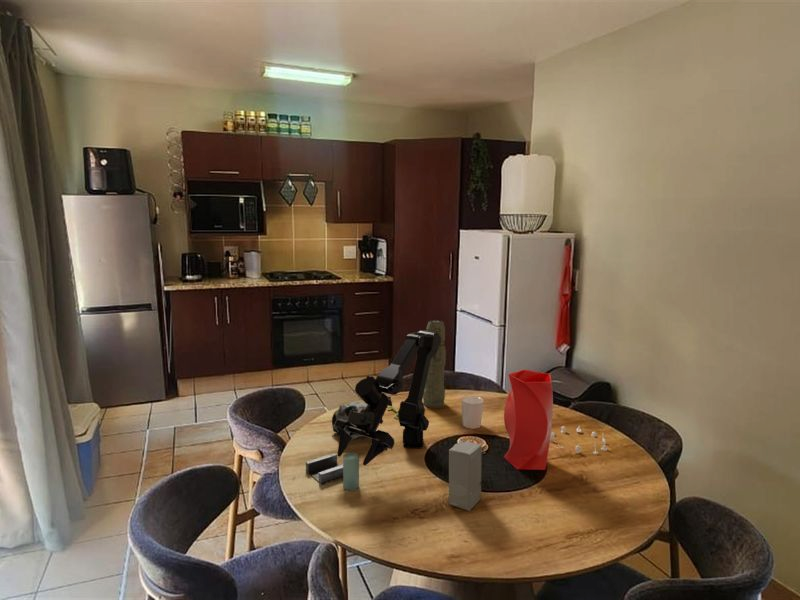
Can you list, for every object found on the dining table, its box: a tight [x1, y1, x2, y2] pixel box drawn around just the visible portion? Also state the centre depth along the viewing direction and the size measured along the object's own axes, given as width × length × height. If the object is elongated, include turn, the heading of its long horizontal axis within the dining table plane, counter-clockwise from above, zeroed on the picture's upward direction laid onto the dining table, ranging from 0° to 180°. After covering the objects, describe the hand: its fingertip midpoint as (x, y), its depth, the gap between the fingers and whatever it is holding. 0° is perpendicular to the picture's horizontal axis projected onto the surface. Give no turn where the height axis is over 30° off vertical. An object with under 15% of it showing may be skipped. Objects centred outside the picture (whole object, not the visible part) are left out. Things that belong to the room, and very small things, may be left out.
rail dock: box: [305, 452, 343, 485], centre depth 154 cm, size 10×10×3 cm
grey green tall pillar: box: [422, 319, 447, 409], centre depth 209 cm, size 9×12×35 cm
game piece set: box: [550, 425, 609, 455], centre depth 178 cm, size 19×20×4 cm
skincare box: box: [448, 439, 483, 512], centre depth 139 cm, size 8×7×16 cm
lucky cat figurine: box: [331, 401, 367, 441], centre depth 180 cm, size 17×14×16 cm
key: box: [387, 404, 399, 421], centre depth 200 cm, size 7×12×2 cm, turn 48°
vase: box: [503, 369, 554, 471], centre depth 161 cm, size 15×14×28 cm
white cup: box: [461, 395, 484, 430], centre depth 190 cm, size 8×8×10 cm
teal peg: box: [342, 452, 360, 491], centre depth 146 cm, size 4×4×9 cm
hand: (351, 460), depth 146 cm, fingers open, 9 cm apart
